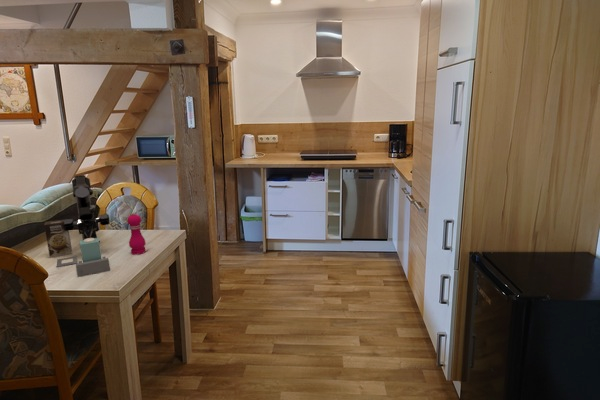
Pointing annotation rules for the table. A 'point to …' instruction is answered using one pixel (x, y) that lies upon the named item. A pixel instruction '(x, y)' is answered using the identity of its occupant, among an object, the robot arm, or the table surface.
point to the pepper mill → (136, 235)
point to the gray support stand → (92, 267)
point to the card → (67, 261)
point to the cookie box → (57, 239)
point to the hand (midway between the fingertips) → (89, 238)
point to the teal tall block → (90, 249)
